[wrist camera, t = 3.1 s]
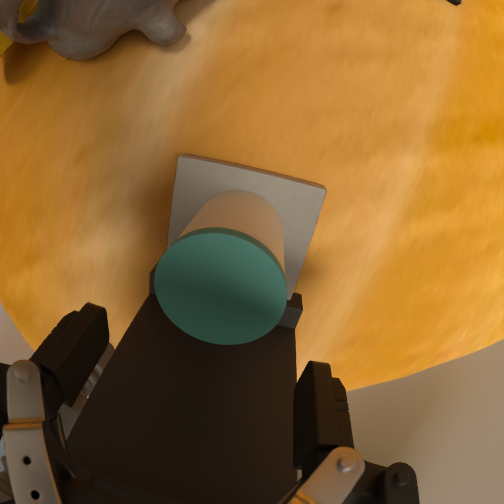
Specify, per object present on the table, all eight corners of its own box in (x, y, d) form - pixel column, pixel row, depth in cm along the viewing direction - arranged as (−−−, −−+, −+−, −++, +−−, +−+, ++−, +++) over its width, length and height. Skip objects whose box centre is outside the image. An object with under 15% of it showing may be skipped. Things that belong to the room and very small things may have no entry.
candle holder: (95, 367, 32) (18, 524, 9) (66, 332, 29) (-32, 491, 7) (127, 364, 30) (48, 548, 8) (96, 324, 28) (-12, 516, 5)
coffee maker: (170, 151, 19) (-118, 343, 1) (338, 189, 19) (498, 518, 2) (156, 330, 27) (74, 517, 9) (275, 359, 27) (261, 565, 9)
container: (200, 179, 19) (157, 218, 12) (295, 201, 19) (304, 252, 12) (188, 262, 22) (152, 327, 15) (271, 282, 22) (267, 355, 15)
